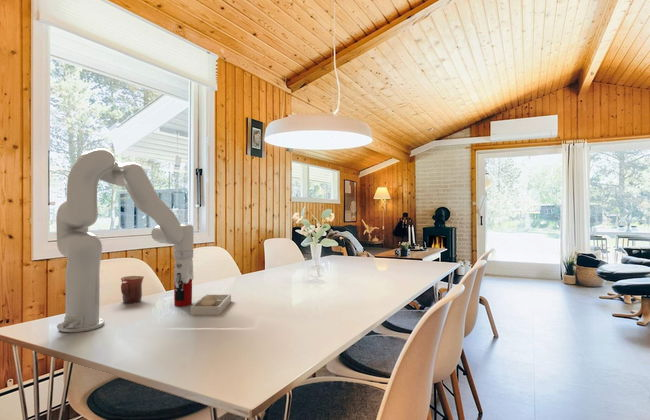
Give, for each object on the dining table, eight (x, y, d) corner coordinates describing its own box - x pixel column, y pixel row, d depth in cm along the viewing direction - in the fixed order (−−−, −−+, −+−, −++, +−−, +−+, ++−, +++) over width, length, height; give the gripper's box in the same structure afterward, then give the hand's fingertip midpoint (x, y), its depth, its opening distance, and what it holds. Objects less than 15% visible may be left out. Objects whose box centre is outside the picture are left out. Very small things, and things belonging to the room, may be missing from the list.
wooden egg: (214, 313, 140) (214, 297, 140) (198, 313, 140) (198, 297, 140) (218, 308, 146) (218, 293, 146) (203, 308, 146) (203, 293, 146)
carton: (219, 316, 138) (219, 306, 138) (190, 316, 138) (190, 307, 138) (231, 302, 158) (231, 294, 158) (205, 302, 158) (205, 294, 158)
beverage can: (194, 304, 155) (194, 275, 155) (187, 308, 149) (187, 278, 149) (179, 303, 156) (179, 274, 156) (170, 307, 149) (171, 277, 149)
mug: (127, 299, 164) (127, 275, 164) (147, 299, 163) (147, 275, 163) (111, 306, 152) (111, 280, 152) (132, 306, 151) (133, 280, 151)
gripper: (185, 257, 144) (185, 303, 144) (199, 252, 161) (198, 293, 161) (165, 257, 144) (165, 303, 144) (181, 252, 161) (181, 293, 161)
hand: (183, 297), depth 152 cm, fingers closed on beverage can, 6 cm apart
